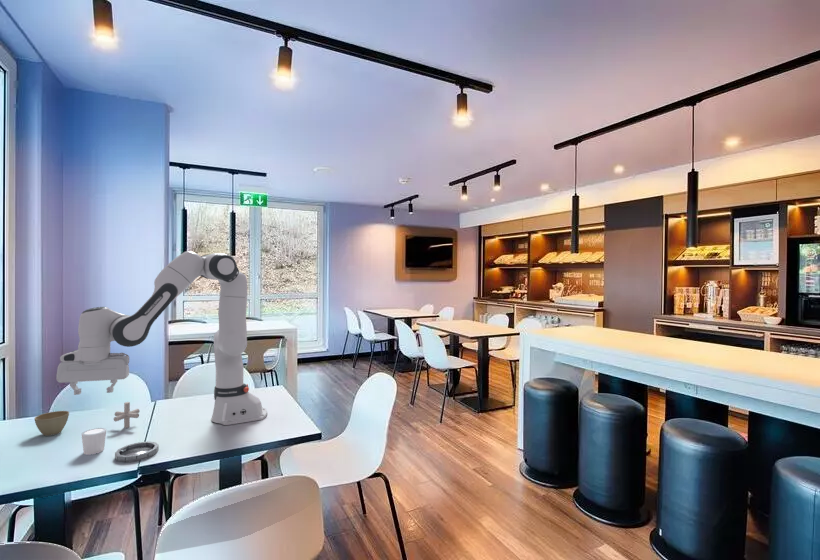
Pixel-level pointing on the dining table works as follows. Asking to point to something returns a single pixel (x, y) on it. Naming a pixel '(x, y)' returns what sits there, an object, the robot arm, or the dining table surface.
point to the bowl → (136, 452)
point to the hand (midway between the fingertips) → (93, 393)
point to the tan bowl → (51, 422)
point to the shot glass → (93, 441)
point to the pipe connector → (126, 415)
